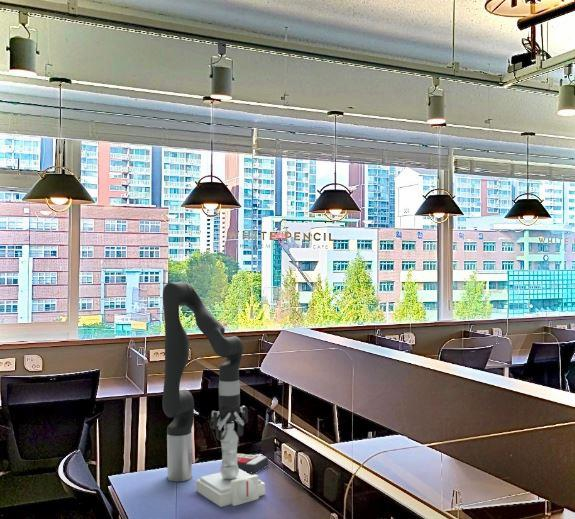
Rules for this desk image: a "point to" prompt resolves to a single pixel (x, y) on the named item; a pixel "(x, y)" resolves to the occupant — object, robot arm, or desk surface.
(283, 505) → the desk surface
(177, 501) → the desk surface
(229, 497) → the plate
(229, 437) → the silver metal bottle
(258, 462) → the calculator
